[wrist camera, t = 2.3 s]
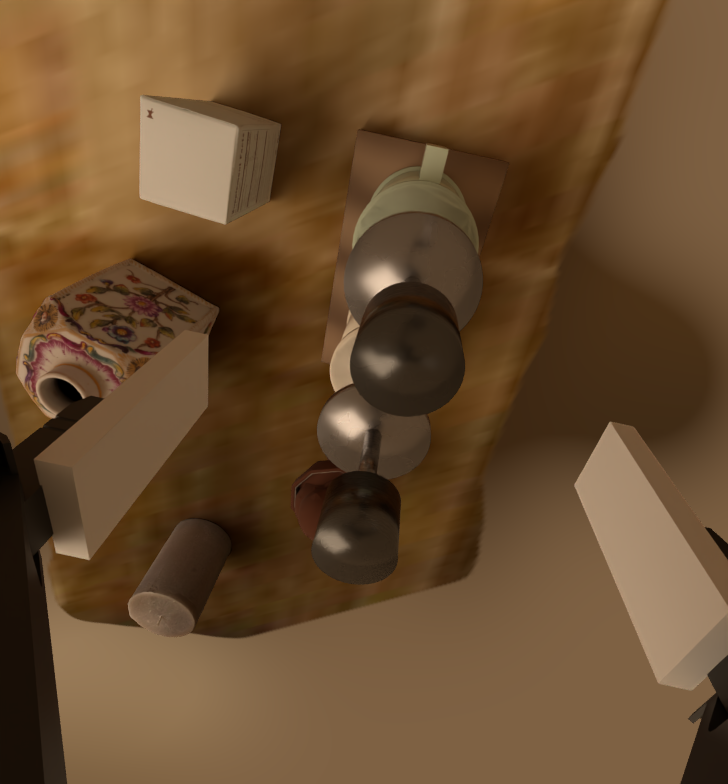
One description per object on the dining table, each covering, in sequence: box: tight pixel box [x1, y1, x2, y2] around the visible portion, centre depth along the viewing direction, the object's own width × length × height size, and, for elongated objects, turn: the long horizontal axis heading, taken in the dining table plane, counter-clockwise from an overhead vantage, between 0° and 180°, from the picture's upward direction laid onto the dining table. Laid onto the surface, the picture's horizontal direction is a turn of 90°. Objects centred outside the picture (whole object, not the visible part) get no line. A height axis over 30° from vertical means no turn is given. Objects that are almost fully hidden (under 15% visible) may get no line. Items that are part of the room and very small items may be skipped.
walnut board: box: [321, 129, 509, 364], centre depth 48 cm, size 24×14×2 cm, turn 169°
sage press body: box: [352, 143, 479, 254], centre depth 39 cm, size 12×10×12 cm
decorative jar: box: [16, 259, 219, 419], centre depth 48 cm, size 12×12×18 cm
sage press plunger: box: [344, 211, 483, 417], centre depth 22 cm, size 8×8×11 cm
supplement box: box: [140, 95, 281, 225], centre depth 40 cm, size 7×7×13 cm
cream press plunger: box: [311, 383, 431, 584], centre depth 28 cm, size 8×8×11 cm
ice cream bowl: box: [291, 457, 347, 540], centre depth 56 cm, size 11×11×15 cm
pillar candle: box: [128, 519, 232, 637], centre depth 68 cm, size 10×10×15 cm
